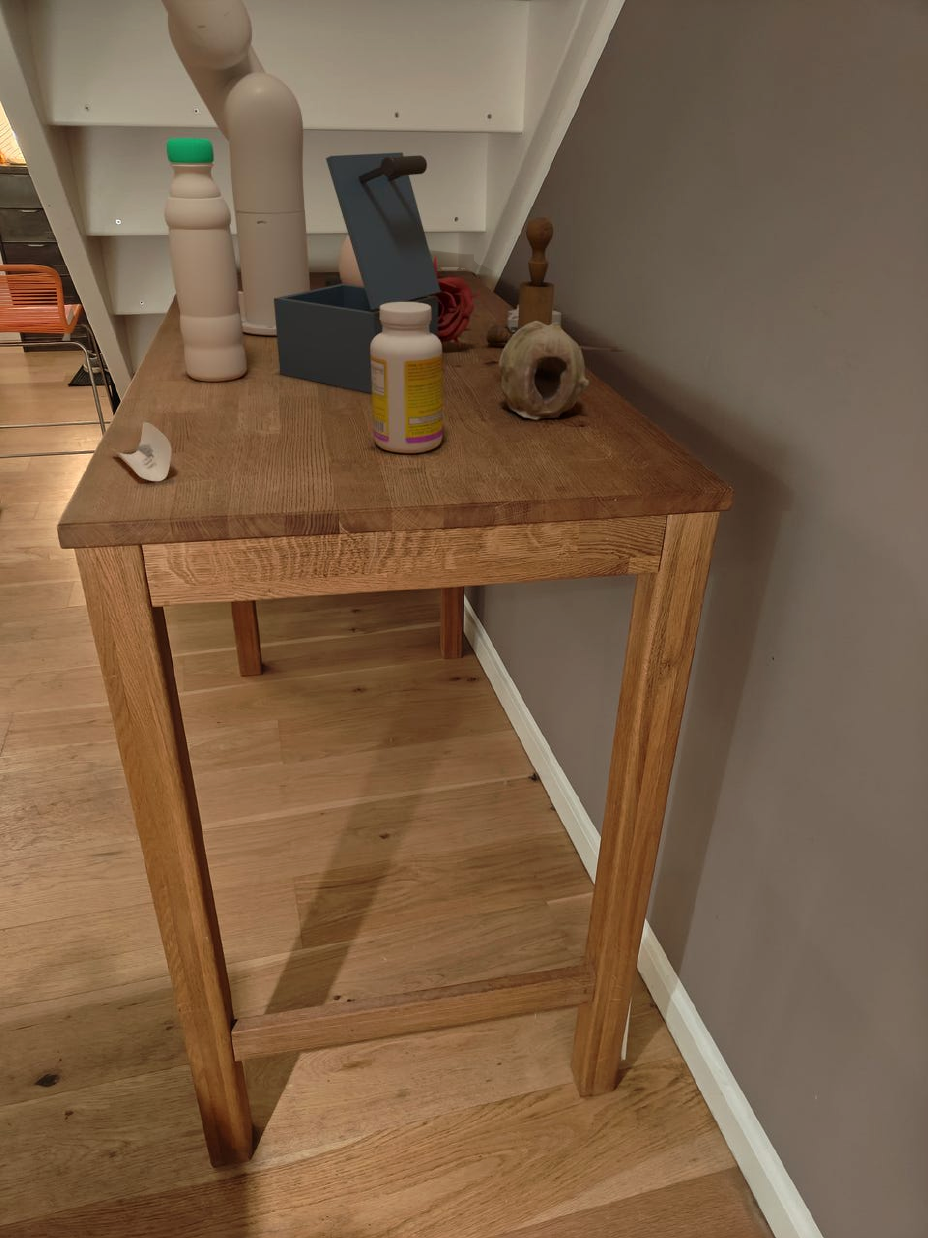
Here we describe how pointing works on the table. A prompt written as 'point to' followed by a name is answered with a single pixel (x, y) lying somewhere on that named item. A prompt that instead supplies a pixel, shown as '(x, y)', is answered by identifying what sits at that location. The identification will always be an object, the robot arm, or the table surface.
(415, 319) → the supplement bottle
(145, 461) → the white curved plate
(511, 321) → the zipper pull
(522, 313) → the mortar and pestle
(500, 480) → the table surface
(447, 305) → the flower
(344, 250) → the egg
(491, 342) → the machete
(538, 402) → the cream hollow lumpy ball
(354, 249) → the lid
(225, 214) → the water bottle
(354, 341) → the chest
